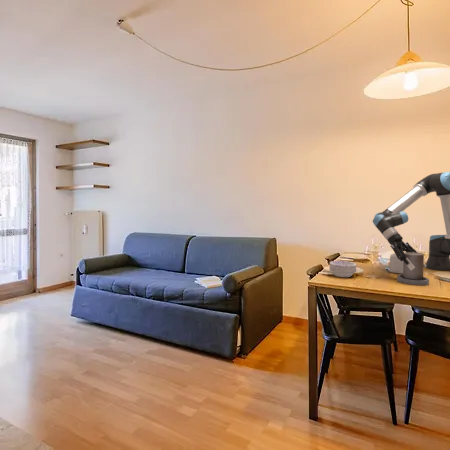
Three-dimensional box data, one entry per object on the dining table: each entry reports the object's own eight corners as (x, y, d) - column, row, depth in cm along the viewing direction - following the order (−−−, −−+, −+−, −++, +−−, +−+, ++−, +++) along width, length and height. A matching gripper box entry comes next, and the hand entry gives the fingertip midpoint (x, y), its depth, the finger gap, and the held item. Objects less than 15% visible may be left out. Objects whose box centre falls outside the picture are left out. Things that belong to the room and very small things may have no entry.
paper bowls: (338, 279, 179) (338, 265, 179) (324, 273, 194) (324, 261, 194) (361, 278, 182) (362, 264, 182) (346, 272, 197) (346, 260, 197)
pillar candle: (419, 276, 177) (419, 250, 176) (426, 280, 168) (426, 252, 167) (400, 275, 179) (401, 249, 179) (406, 279, 170) (406, 252, 169)
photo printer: (388, 272, 199) (389, 253, 199) (391, 271, 202) (392, 252, 201) (405, 274, 192) (406, 255, 191) (408, 274, 194) (409, 254, 193)
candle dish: (416, 278, 181) (416, 274, 181) (435, 285, 167) (435, 280, 166) (391, 278, 181) (391, 274, 181) (407, 285, 166) (408, 280, 166)
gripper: (400, 239, 191) (425, 270, 178) (376, 241, 181) (401, 274, 168) (408, 232, 186) (435, 262, 173) (384, 233, 176) (411, 266, 163)
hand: (418, 268), depth 170 cm, fingers closed on pillar candle, 9 cm apart
